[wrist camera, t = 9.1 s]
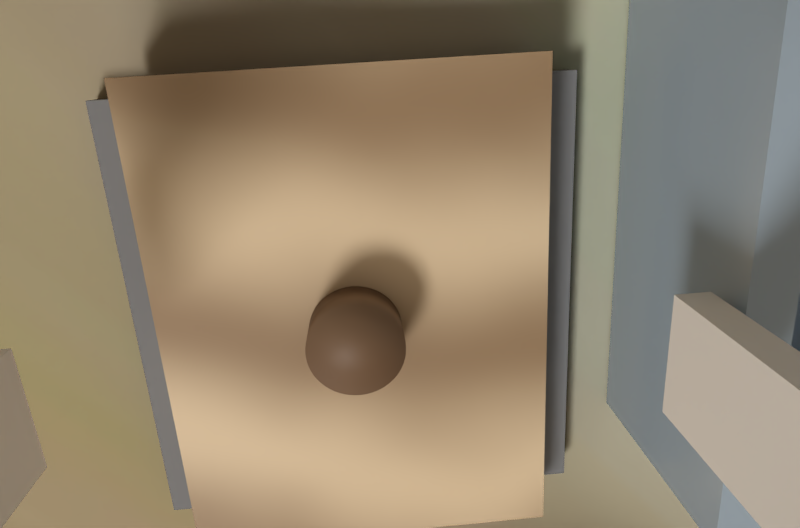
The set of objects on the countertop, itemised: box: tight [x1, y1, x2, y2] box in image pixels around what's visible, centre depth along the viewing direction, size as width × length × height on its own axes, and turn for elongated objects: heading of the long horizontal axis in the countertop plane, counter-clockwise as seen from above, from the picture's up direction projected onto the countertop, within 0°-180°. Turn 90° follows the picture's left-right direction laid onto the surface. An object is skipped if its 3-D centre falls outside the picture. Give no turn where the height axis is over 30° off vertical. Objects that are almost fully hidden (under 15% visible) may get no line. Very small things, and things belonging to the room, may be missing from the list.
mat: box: [86, 70, 577, 510], centre depth 17 cm, size 12×12×1 cm
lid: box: [104, 51, 553, 528], centre depth 16 cm, size 13×10×2 cm
